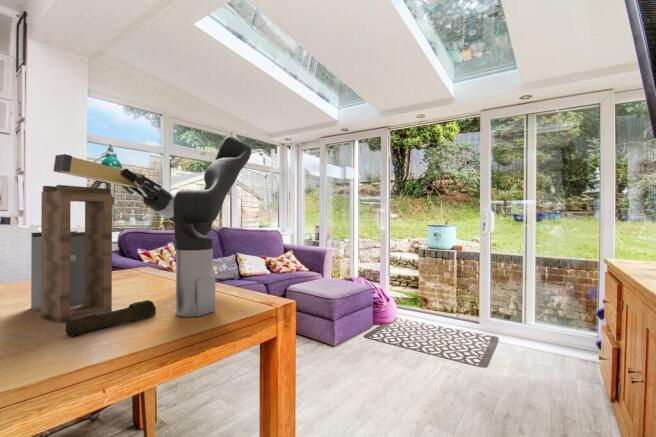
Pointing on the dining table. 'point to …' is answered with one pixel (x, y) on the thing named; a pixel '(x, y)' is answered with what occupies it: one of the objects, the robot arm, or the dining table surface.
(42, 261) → the brown tall rectangular frame
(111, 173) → the rod
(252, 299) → the dining table surface
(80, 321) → the hand tool
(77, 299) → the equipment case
